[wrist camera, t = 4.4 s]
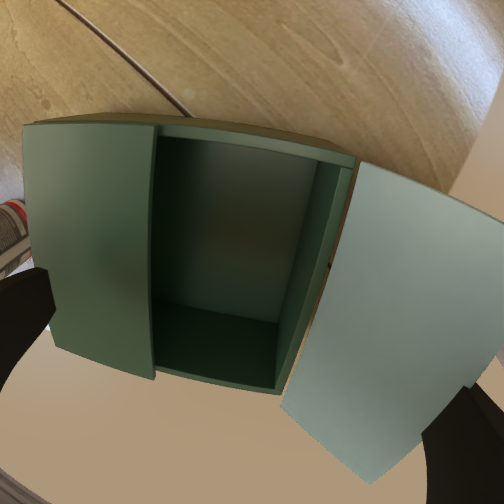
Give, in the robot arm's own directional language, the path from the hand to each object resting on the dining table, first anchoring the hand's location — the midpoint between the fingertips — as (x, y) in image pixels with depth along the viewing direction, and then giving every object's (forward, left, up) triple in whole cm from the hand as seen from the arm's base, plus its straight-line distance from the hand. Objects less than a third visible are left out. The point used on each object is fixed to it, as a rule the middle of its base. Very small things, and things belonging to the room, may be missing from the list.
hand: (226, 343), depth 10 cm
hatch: (-6, 0, 0) cm, 6 cm away
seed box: (+4, 0, -10) cm, 10 cm away
